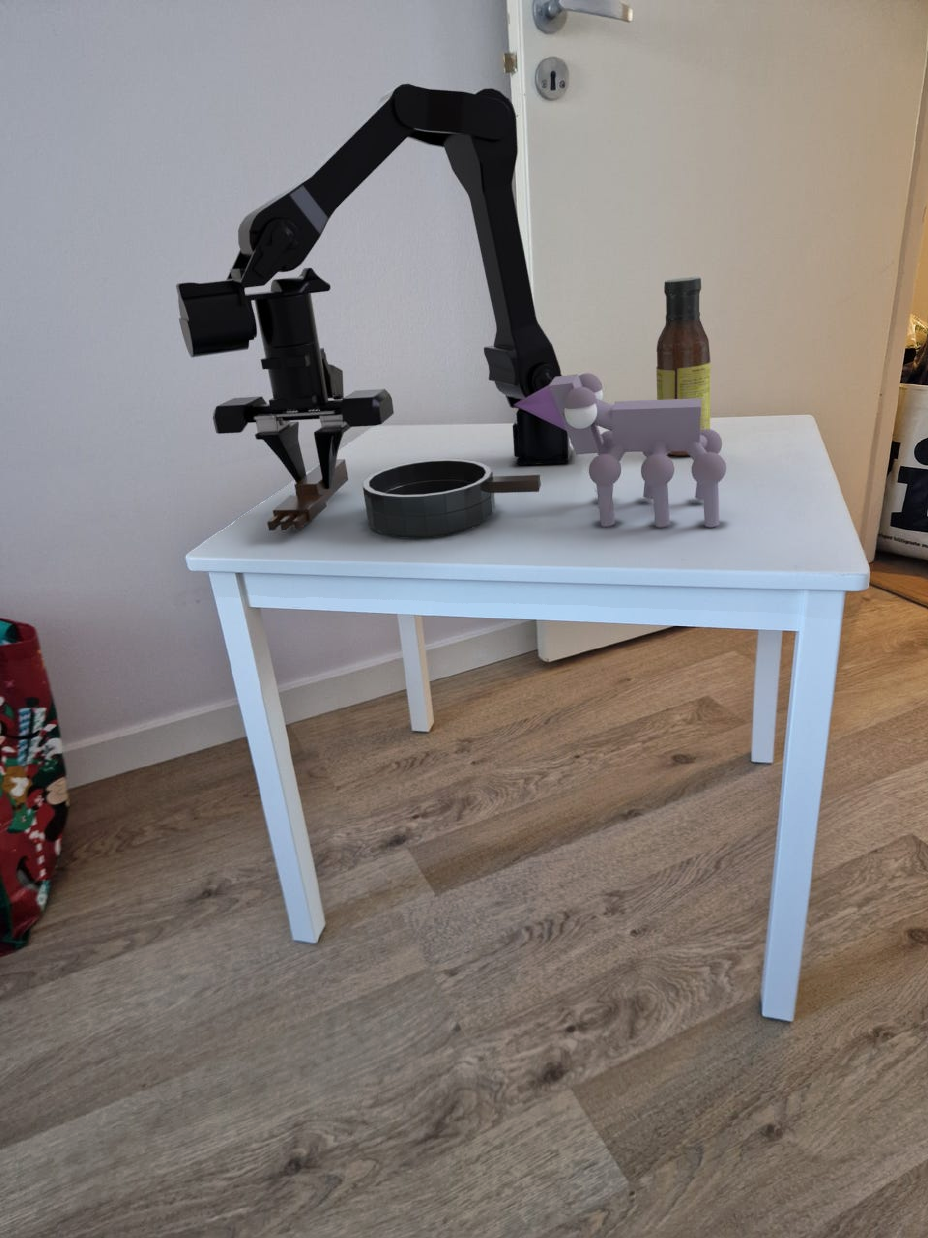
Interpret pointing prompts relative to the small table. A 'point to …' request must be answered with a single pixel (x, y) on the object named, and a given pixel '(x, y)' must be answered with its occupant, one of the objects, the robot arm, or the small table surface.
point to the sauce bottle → (684, 349)
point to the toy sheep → (633, 441)
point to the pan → (429, 498)
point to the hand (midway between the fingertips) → (317, 488)
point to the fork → (307, 499)
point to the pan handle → (515, 484)
